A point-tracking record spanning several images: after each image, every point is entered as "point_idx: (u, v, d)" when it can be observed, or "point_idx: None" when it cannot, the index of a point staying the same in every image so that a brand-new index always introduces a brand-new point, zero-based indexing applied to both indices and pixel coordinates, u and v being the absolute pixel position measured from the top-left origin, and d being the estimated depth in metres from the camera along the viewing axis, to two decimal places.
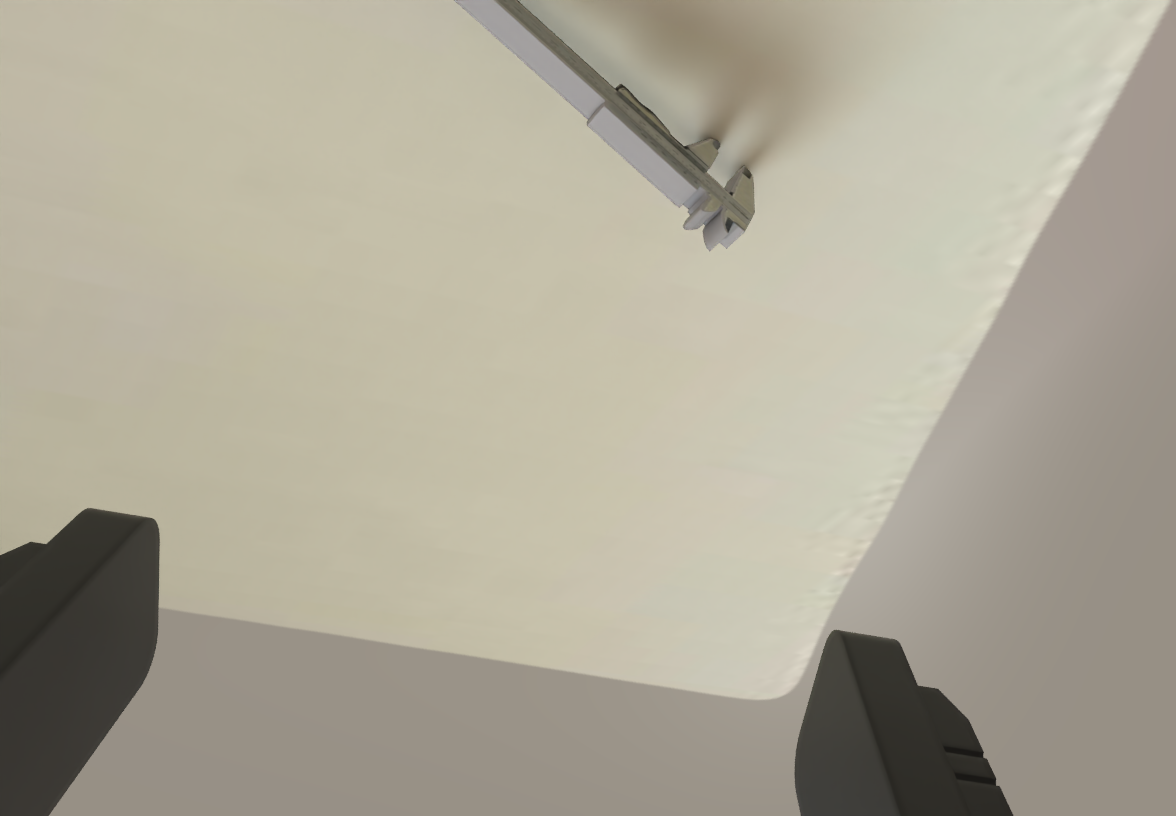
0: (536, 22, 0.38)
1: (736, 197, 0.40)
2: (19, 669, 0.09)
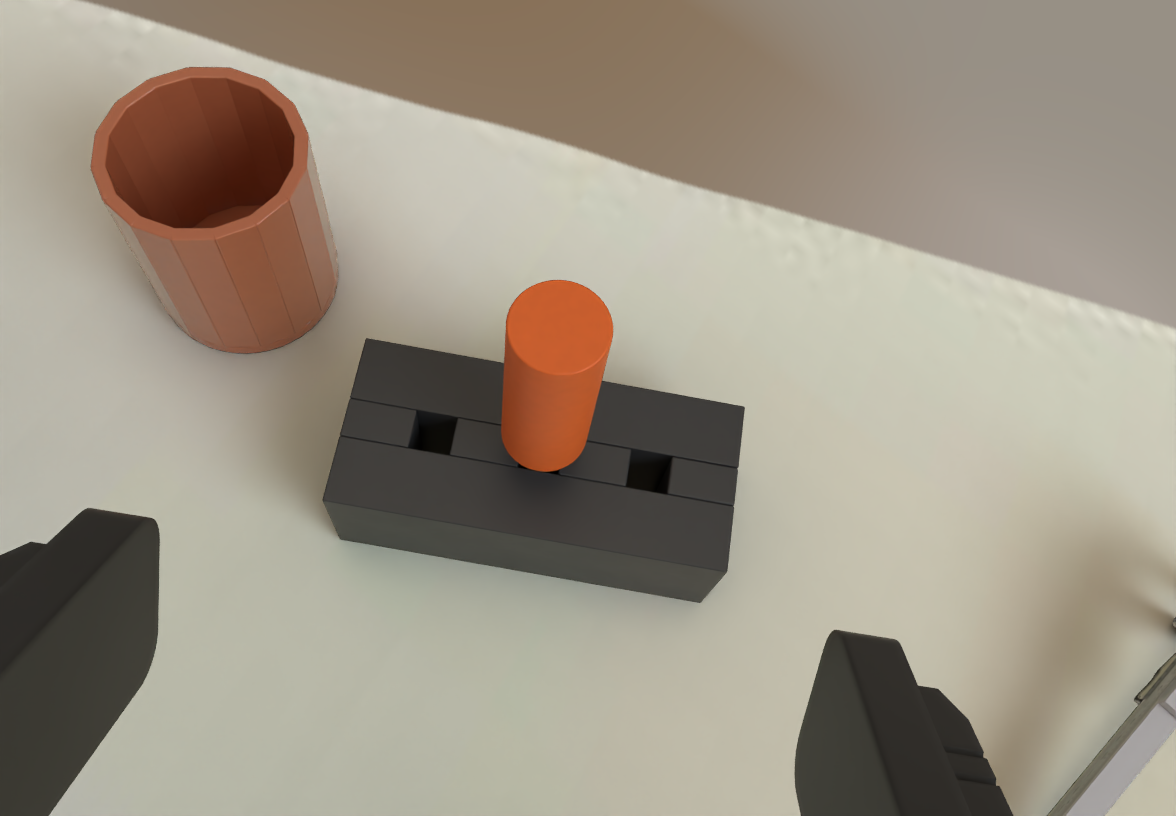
0: (1085, 774, 0.39)
1: None
2: (19, 669, 0.09)
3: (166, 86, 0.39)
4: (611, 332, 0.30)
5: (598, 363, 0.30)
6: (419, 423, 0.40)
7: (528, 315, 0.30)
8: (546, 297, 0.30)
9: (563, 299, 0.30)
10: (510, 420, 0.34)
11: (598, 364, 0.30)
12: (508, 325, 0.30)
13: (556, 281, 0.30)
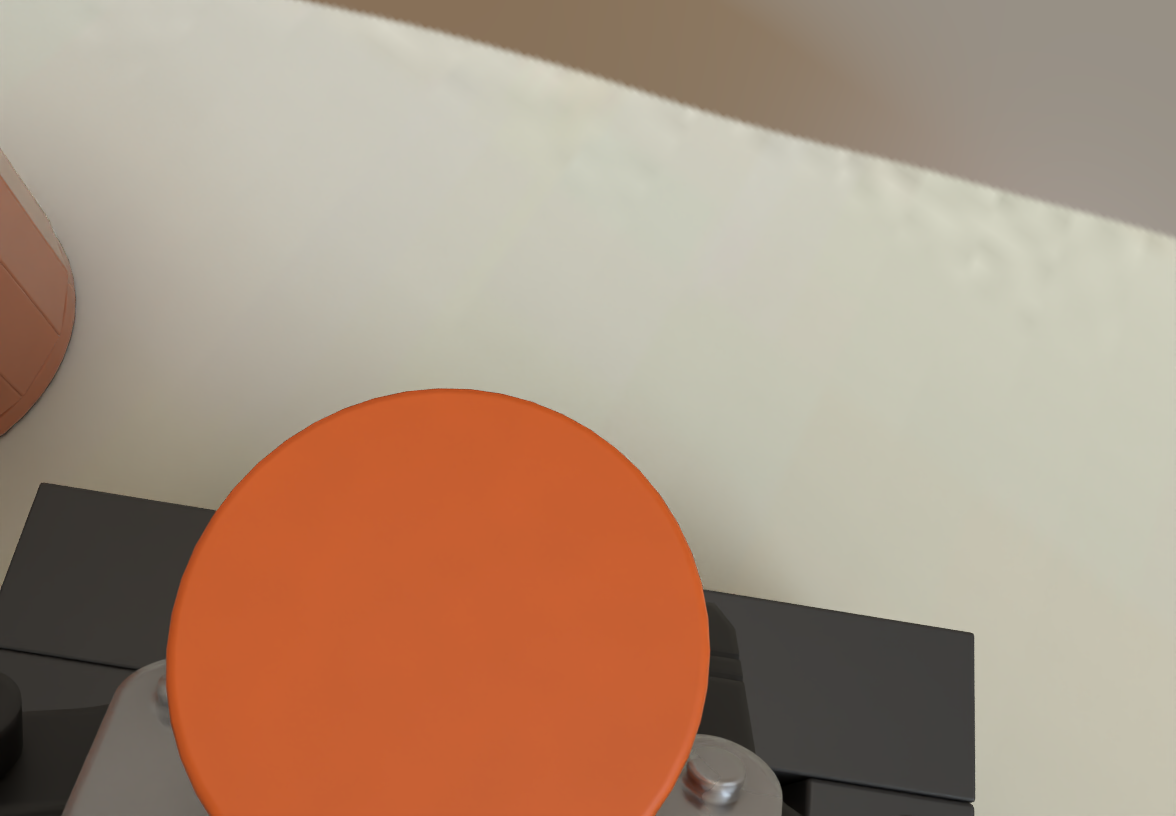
0: None
1: None
2: None
3: None
4: (703, 654, 0.06)
5: None
6: None
7: (286, 577, 0.06)
8: (382, 478, 0.06)
9: (465, 485, 0.06)
10: None
11: None
12: (177, 638, 0.06)
13: (434, 394, 0.06)
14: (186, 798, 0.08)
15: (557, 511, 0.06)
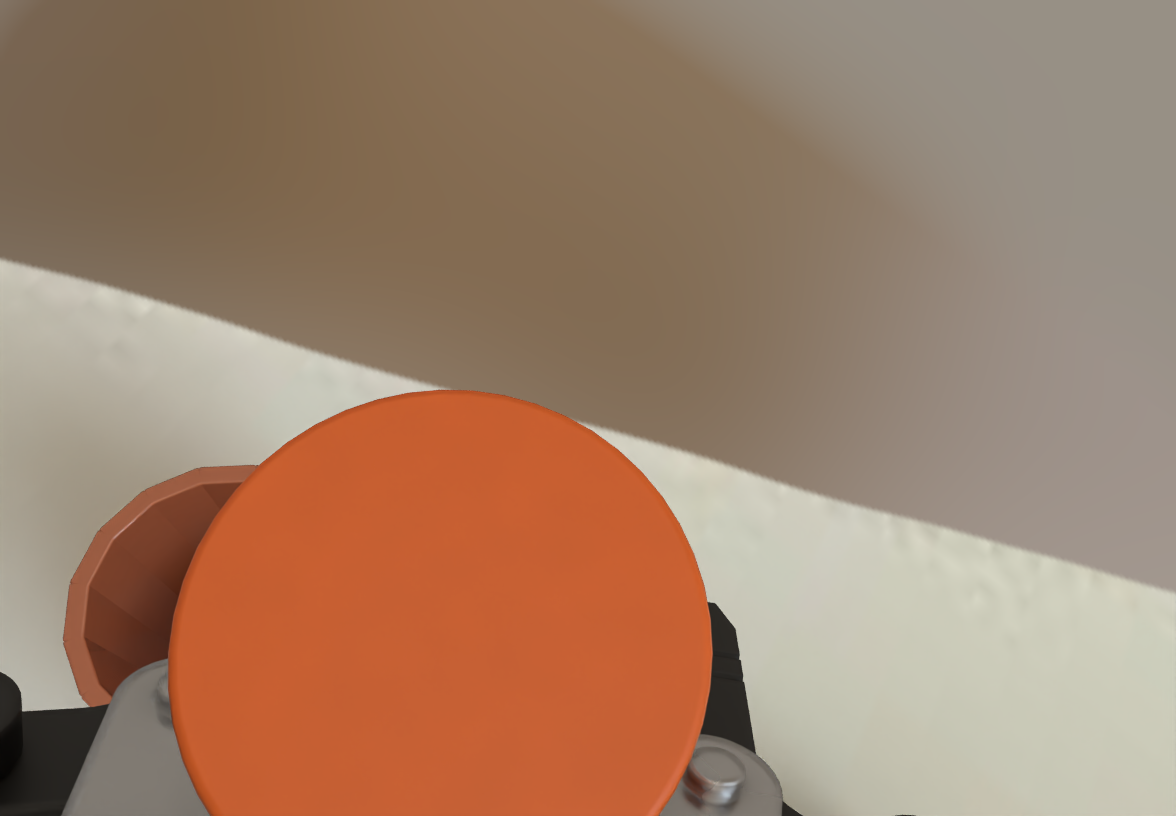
0: None
1: None
2: None
3: (169, 498, 0.28)
4: (706, 656, 0.06)
5: None
6: None
7: (288, 580, 0.06)
8: (385, 480, 0.06)
9: (467, 487, 0.06)
10: None
11: None
12: (179, 640, 0.06)
13: (435, 396, 0.06)
14: (186, 798, 0.08)
15: (559, 513, 0.06)
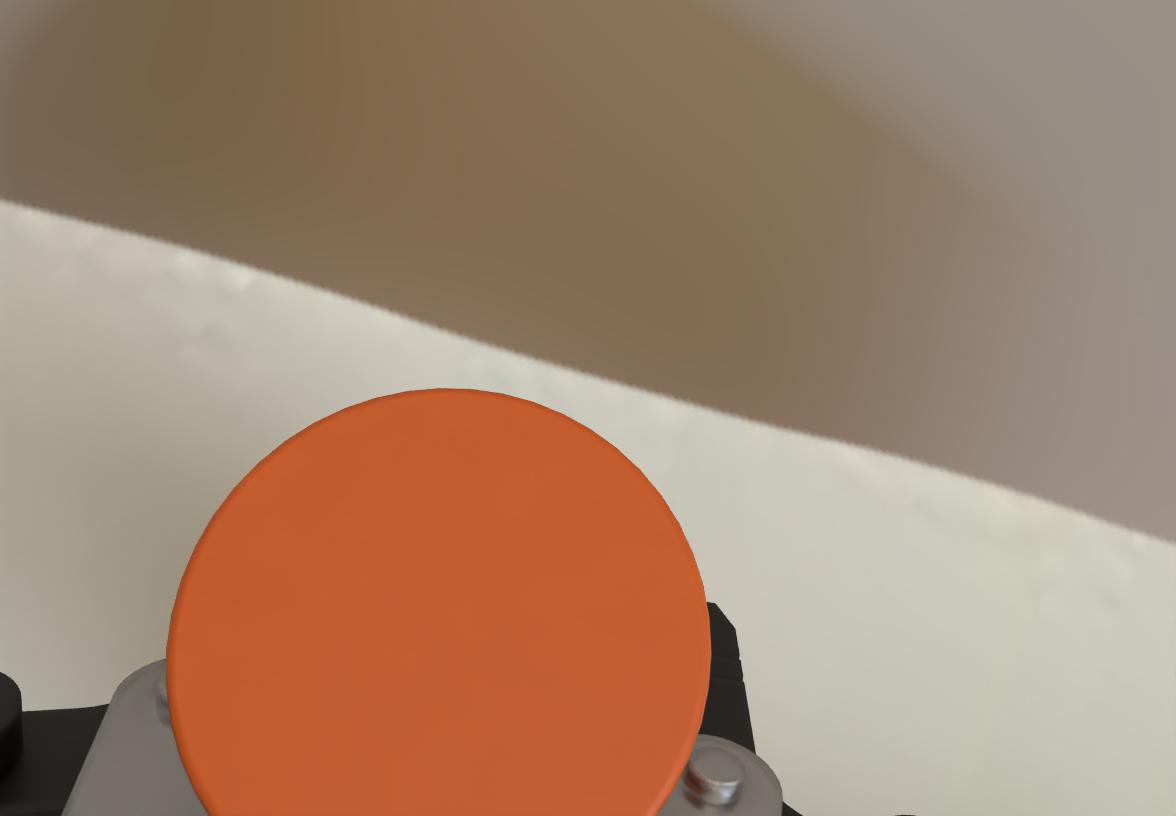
0: None
1: None
2: None
3: None
4: (704, 655, 0.06)
5: None
6: None
7: (286, 578, 0.06)
8: (383, 478, 0.06)
9: (466, 486, 0.06)
10: None
11: None
12: (177, 638, 0.06)
13: (433, 394, 0.06)
14: (186, 798, 0.08)
15: (558, 511, 0.06)
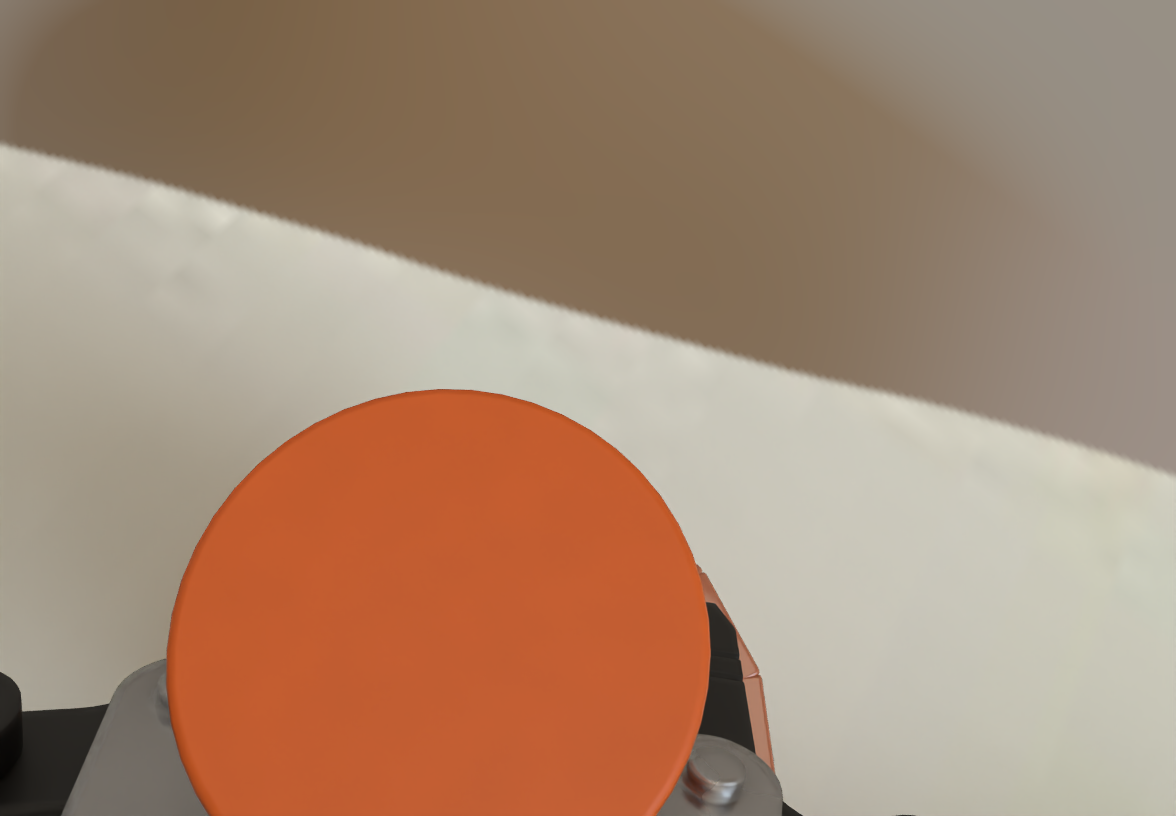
0: None
1: None
2: None
3: None
4: (704, 655, 0.06)
5: None
6: None
7: (286, 579, 0.06)
8: (383, 479, 0.06)
9: (465, 486, 0.06)
10: None
11: None
12: (177, 639, 0.06)
13: (434, 394, 0.06)
14: (186, 798, 0.08)
15: (557, 512, 0.06)
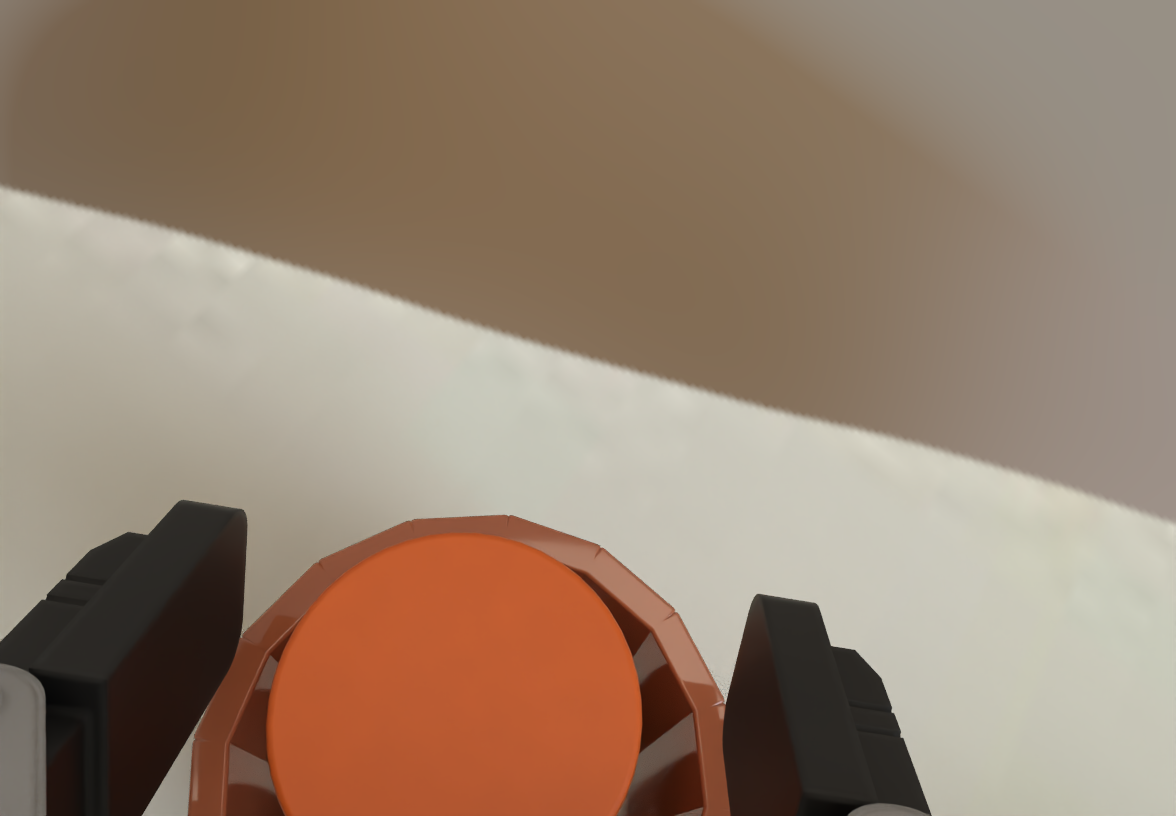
0: None
1: None
2: (140, 651, 0.10)
3: None
4: (637, 727, 0.09)
5: None
6: None
7: (347, 673, 0.09)
8: (413, 600, 0.09)
9: (471, 605, 0.09)
10: None
11: None
12: (273, 717, 0.08)
13: (449, 538, 0.09)
14: None
15: (536, 624, 0.09)
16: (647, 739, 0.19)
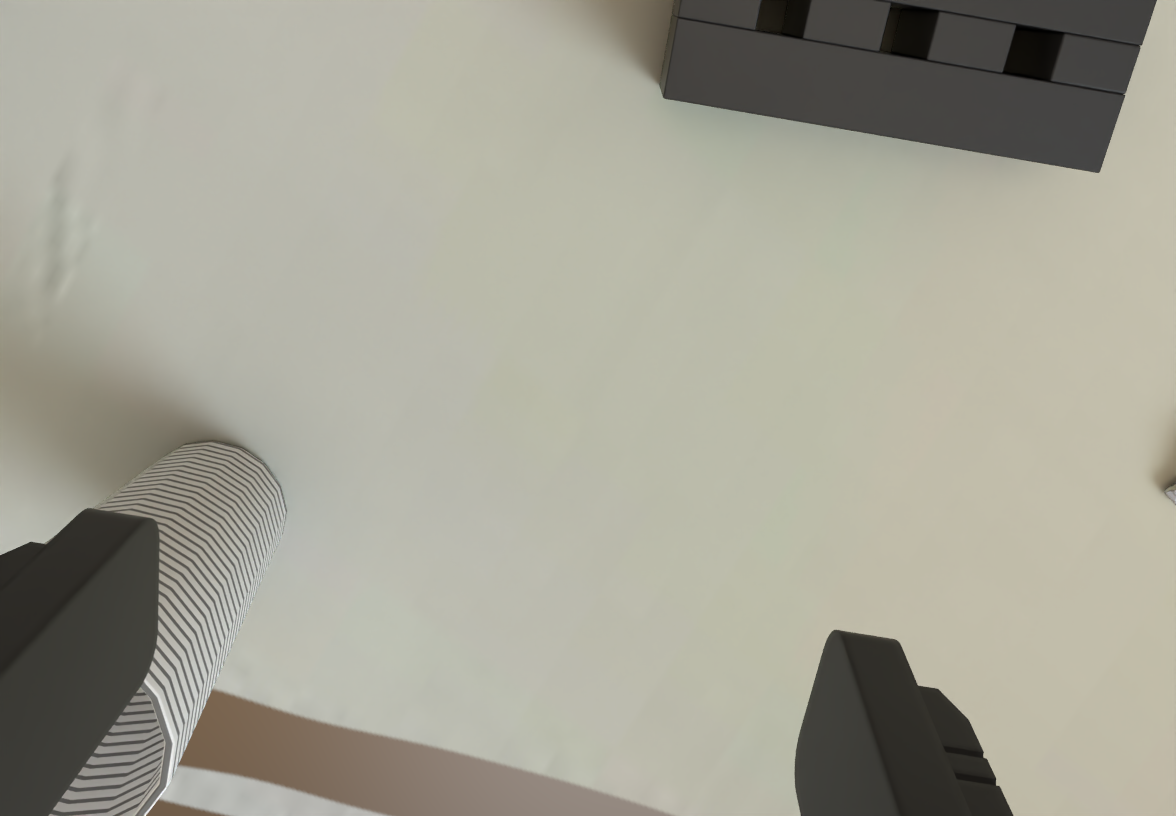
0: None
1: None
2: (19, 669, 0.09)
3: None
4: None
5: None
6: None
7: None
8: None
9: None
10: None
11: None
12: None
13: None
14: None
15: None
16: None
